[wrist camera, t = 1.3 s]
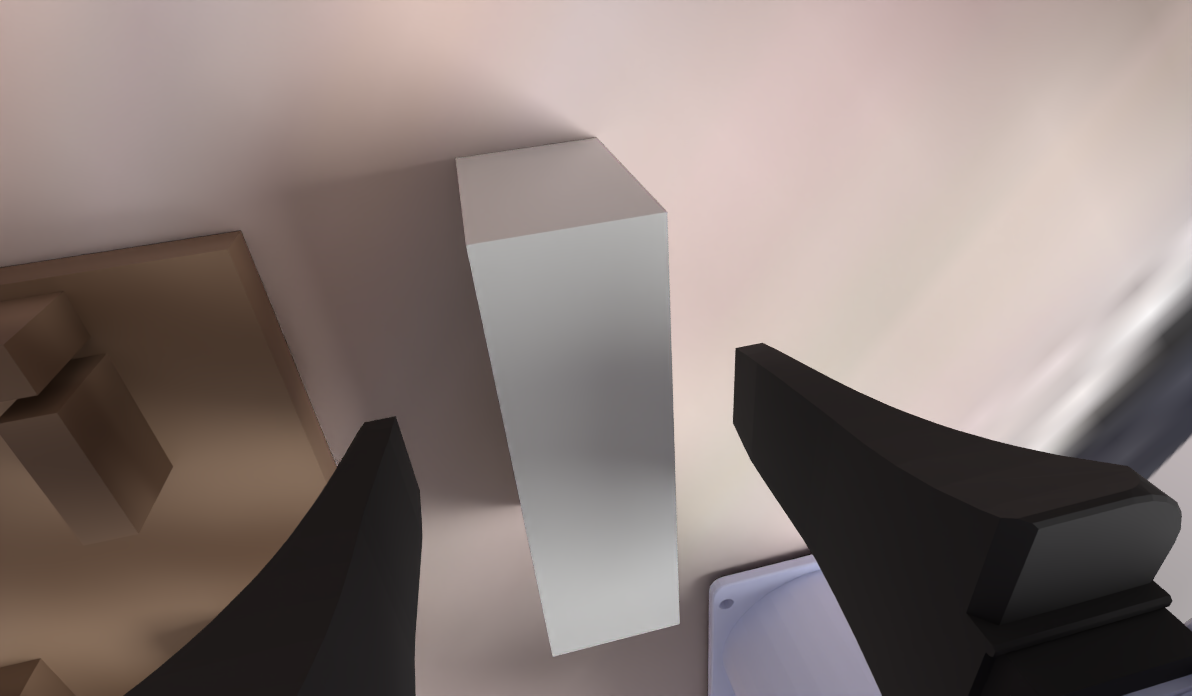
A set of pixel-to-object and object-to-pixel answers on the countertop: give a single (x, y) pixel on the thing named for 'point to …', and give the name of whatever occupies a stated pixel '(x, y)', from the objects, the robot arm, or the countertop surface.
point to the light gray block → (581, 378)
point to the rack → (140, 457)
